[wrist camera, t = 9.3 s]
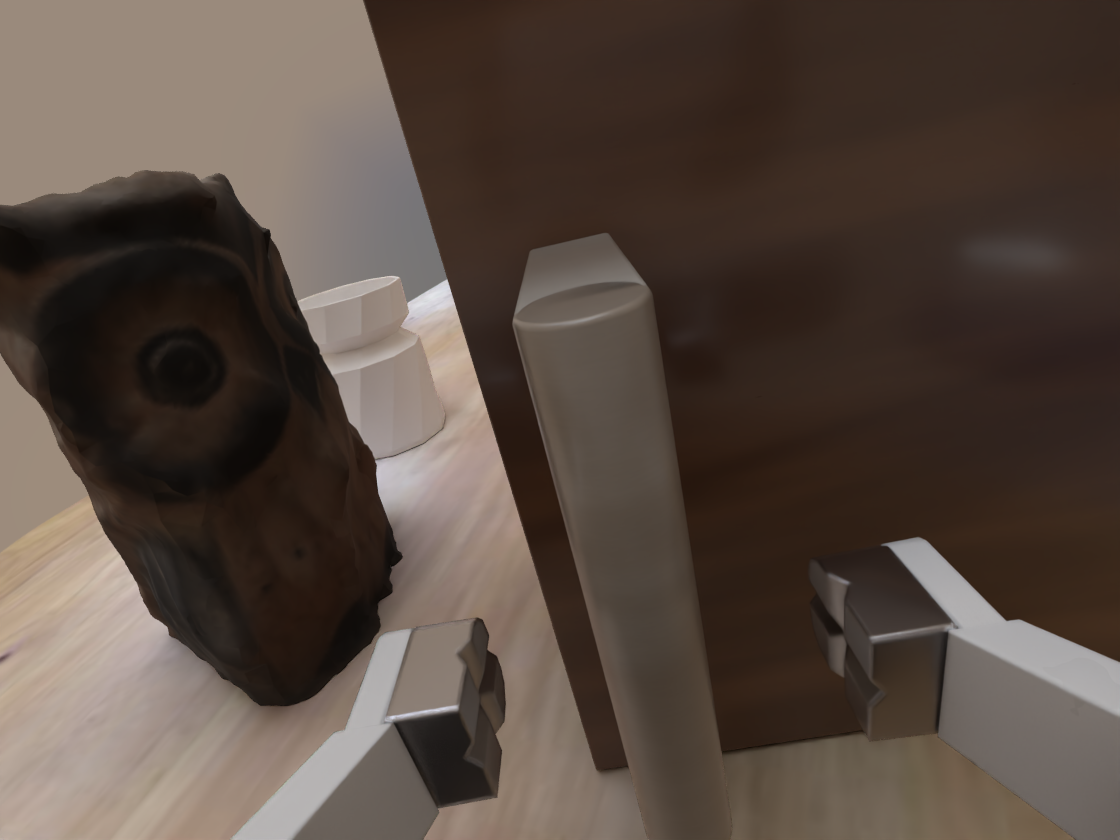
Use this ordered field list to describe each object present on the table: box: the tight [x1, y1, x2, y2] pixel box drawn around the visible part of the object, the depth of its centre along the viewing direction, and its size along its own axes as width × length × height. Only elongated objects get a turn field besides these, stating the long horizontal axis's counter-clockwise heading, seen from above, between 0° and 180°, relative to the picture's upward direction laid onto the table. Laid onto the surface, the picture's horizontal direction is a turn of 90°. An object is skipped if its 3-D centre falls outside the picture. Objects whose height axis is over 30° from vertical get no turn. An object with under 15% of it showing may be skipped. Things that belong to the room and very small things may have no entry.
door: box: [363, 0, 1120, 840], centre depth 10 cm, size 7×18×22 cm, turn 91°
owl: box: [0, 170, 403, 706], centre depth 24 cm, size 13×13×20 cm
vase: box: [297, 276, 445, 459], centre depth 44 cm, size 9×9×12 cm
